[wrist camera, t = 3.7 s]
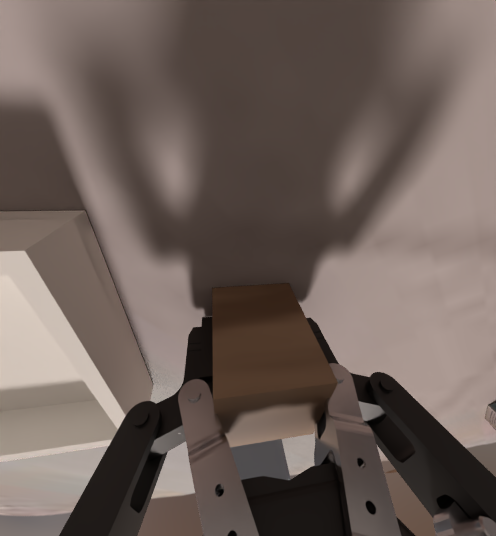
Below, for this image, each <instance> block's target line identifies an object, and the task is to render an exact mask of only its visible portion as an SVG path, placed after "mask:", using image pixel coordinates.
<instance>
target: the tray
mask: <svg viewBox="0 0 496 536" xmlns="http://www.w3.org/2000/svg"><path fill="white" fill-rule="evenodd" d="M152 389H153V383H152V380H151V378H150V375H149V373H148V370H147V368H146V365H145V362H144V360H143V357H142V355H141V352H140V350H139V347H138V344H137V342H136V339H135V337H134V334H133V332H132V329H131V326H130V324H129V321H128V319H127V316H126V314H125V311H124V309H123V306H122V303H121V301H120V298H119V296H118V293H117V291H116V288H115V285H114V283H113V280H112V278H111V275H110V273H109V270H108V267H107V265H106V262H105V260H104V257H103V255H102V252H101V249H100V247H99V244H98V242H97V239H96V237H95V234H94V231H93V229H92V226H91V224H90V221H89V219H88V216H87V214H86V211H85V210H82V211H0V462H5V461H11V460H18V459H25V458H31V457H38V456H44V455H51V454H57V453H64V452H71V451H77V450H84V449H90V448H97V447H104V446H109V445H110V443H111V441H112V439H113V438H114V436H115V434H116V432H117V430H118V429H119V427H120V425H121V423H122V421H123V420H124V418H125V416H126V414H127V413H128V412H129V410H130V409H131V408H132V407H134V406H135V405H137V404H138V403H141V402H144V401H150V398H151V394H152Z"/></svg>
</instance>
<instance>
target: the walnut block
mask: <svg viewBox="0 0 496 536" xmlns="http://www.w3.org/2000/svg"><path fill="white" fill-rule="evenodd" d="M212 327H213V404H214V413H215V414H218V417H219V420H220V423H221V426H222V429H223V432H224V434H225V435H226V437H227V440H228V442H229V445H230V447H236V446H242V445H248V444H254V443H260V442H266V441H272V440H278V439H284V438H290V437H296V436H302V435H308V434H313V433H314V431H315V428H314V424H315V422H316V420H320V419H321V417H322V415H323V413H324V411H325V406H324V403H325V401H326V399H327V398H331V396H332V394H333V392H334V390H335V388H336V386H337V384H338V382H337V380H336V378H335V376H334V374H333V372H332V370H331V367H330V365H329V363H328V361H327V359H326V357H325V355H324V353H323V351H322V349H321V347H320V345H319V343H318V341H317V339H316V337H315V335H314V333H313V331H312V329H311V327H310V325H309V323H308V321H307V319H306V317H305V315H304V313H303V311H302V309H301V307H300V305H299V303H298V301H297V299H296V297H295V295H294V293H293V291H292V289H291V287H290V285H289V283H282V284H266V285H250V286H233V287H217V288H212Z"/></svg>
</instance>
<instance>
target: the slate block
mask: <svg viewBox="0 0 496 536" xmlns="http://www.w3.org/2000/svg"><path fill="white" fill-rule="evenodd" d="M230 448H231V451H232V454H233V458H234V461H235V464H236V467H237V470H238V473H239V476H240V479H241V480H243V479H248V478H254V477H259V476H267V477H273V478H279V479H284V480H290V475H289V471H288V466H287V462H286V457H285V453H284V448H283V444H282V440H281V439H278V440H272V441H266V442H260V443H254V444H248V445H242V446H236V447H230Z"/></svg>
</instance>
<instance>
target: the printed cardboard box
mask: <svg viewBox="0 0 496 536" xmlns="http://www.w3.org/2000/svg"><path fill="white" fill-rule="evenodd" d="M485 419H486V420H487V421H488V422H489V423H490V424H491V425H492V427H493V428H494V429H495V430H496V402H495V403H493V404H490V405H488V408H487V412H486V416H485Z"/></svg>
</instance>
